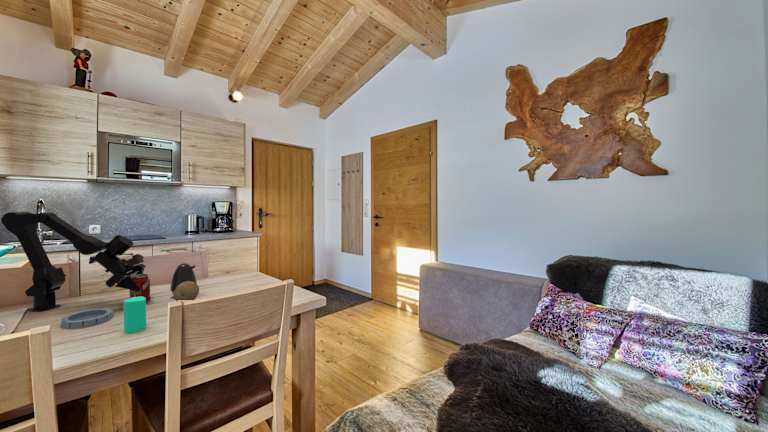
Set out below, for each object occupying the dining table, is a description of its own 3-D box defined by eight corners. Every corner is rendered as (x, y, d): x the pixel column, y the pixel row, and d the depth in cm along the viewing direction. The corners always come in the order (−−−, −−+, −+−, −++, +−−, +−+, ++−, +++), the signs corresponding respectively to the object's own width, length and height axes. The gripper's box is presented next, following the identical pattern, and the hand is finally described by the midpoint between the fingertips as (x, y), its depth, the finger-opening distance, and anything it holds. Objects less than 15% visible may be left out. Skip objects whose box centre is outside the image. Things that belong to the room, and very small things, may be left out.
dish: (50, 326, 102) (50, 320, 102) (94, 312, 114) (94, 307, 114) (80, 330, 99) (80, 324, 99) (121, 316, 112) (121, 310, 112)
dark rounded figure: (187, 299, 131) (187, 266, 131) (164, 299, 132) (164, 265, 131) (202, 292, 142) (202, 261, 141) (180, 292, 142) (180, 260, 141)
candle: (127, 334, 98) (127, 298, 97) (120, 329, 101) (120, 295, 100) (149, 328, 103) (149, 294, 102) (142, 323, 106) (141, 291, 105)
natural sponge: (181, 309, 120) (180, 285, 119) (168, 305, 124) (168, 282, 123) (203, 303, 128) (203, 280, 127) (191, 299, 132) (191, 277, 131)
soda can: (138, 306, 122) (138, 278, 121) (125, 305, 123) (125, 276, 122) (154, 301, 128) (154, 274, 127) (141, 300, 129) (141, 273, 129)
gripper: (114, 253, 114) (148, 280, 118) (140, 245, 132) (168, 269, 136) (90, 274, 113) (125, 300, 116) (119, 263, 131) (149, 286, 134)
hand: (143, 287), depth 126 cm, fingers closed on soda can, 7 cm apart
